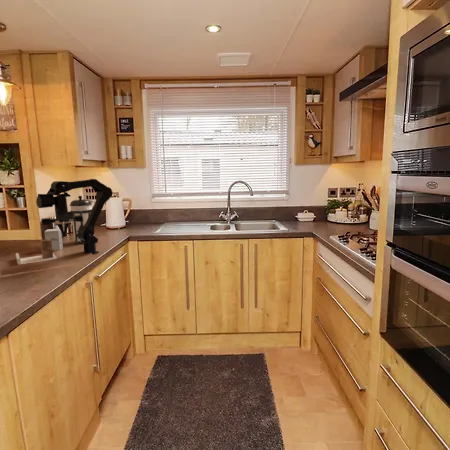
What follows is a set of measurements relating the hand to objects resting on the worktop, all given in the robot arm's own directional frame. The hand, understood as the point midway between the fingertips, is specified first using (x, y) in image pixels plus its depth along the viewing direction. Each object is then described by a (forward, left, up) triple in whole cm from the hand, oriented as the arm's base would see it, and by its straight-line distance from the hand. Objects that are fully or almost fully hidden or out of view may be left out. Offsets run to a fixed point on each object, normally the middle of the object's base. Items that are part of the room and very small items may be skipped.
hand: (64, 236), depth 164 cm
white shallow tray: (+5, -13, -12) cm, 19 cm away
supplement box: (-15, -18, -12) cm, 26 cm away
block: (+1, -10, -11) cm, 15 cm away
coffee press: (-38, -14, -12) cm, 42 cm away
